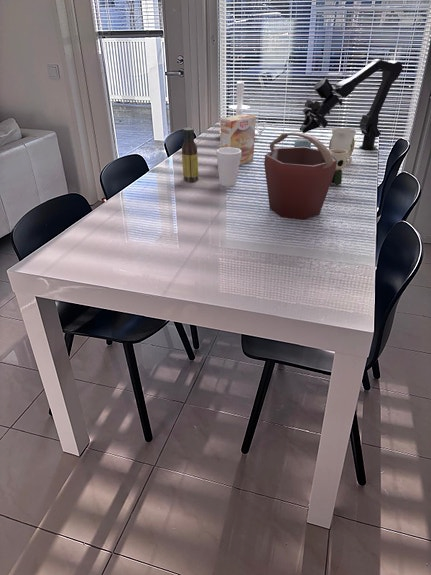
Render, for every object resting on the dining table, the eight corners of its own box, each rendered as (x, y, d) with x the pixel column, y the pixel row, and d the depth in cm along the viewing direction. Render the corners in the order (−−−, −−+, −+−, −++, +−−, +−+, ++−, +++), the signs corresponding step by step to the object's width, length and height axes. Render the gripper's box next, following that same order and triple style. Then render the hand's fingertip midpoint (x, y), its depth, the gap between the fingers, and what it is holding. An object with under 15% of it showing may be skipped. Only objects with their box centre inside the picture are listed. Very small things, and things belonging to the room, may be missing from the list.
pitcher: (353, 155, 205) (358, 125, 198) (349, 166, 191) (355, 134, 183) (330, 153, 208) (334, 123, 201) (324, 163, 194) (329, 132, 186)
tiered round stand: (298, 146, 218) (299, 135, 215) (320, 151, 211) (322, 139, 208) (283, 151, 210) (284, 139, 207) (305, 157, 203) (307, 144, 200)
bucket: (251, 201, 155) (255, 129, 141) (303, 193, 162) (312, 124, 149) (286, 228, 136) (295, 148, 122) (344, 217, 143) (358, 140, 130)
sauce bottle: (198, 177, 177) (197, 126, 166) (198, 182, 171) (197, 130, 161) (182, 177, 176) (181, 126, 166) (182, 182, 171) (180, 130, 160)
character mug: (318, 185, 170) (322, 152, 163) (320, 179, 175) (324, 147, 168) (346, 188, 167) (352, 154, 160) (347, 182, 173) (353, 149, 166)
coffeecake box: (229, 167, 188) (231, 120, 177) (219, 164, 192) (219, 118, 182) (254, 161, 196) (256, 116, 186) (243, 157, 201) (245, 113, 190)
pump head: (303, 131, 207) (303, 124, 206) (309, 132, 206) (309, 125, 204) (299, 132, 205) (299, 125, 204) (305, 134, 203) (305, 126, 202)
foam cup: (243, 182, 172) (245, 149, 165) (234, 189, 165) (235, 155, 158) (221, 178, 176) (222, 146, 168) (212, 185, 168) (212, 152, 161)
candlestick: (261, 144, 221) (265, 84, 206) (215, 141, 226) (215, 82, 211) (267, 135, 238) (271, 79, 223) (224, 132, 243) (225, 77, 228)
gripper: (308, 89, 204) (284, 115, 208) (325, 96, 189) (298, 123, 193) (322, 106, 210) (298, 131, 214) (339, 114, 195) (312, 140, 199)
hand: (301, 131), depth 205 cm, fingers closed on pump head, 3 cm apart
